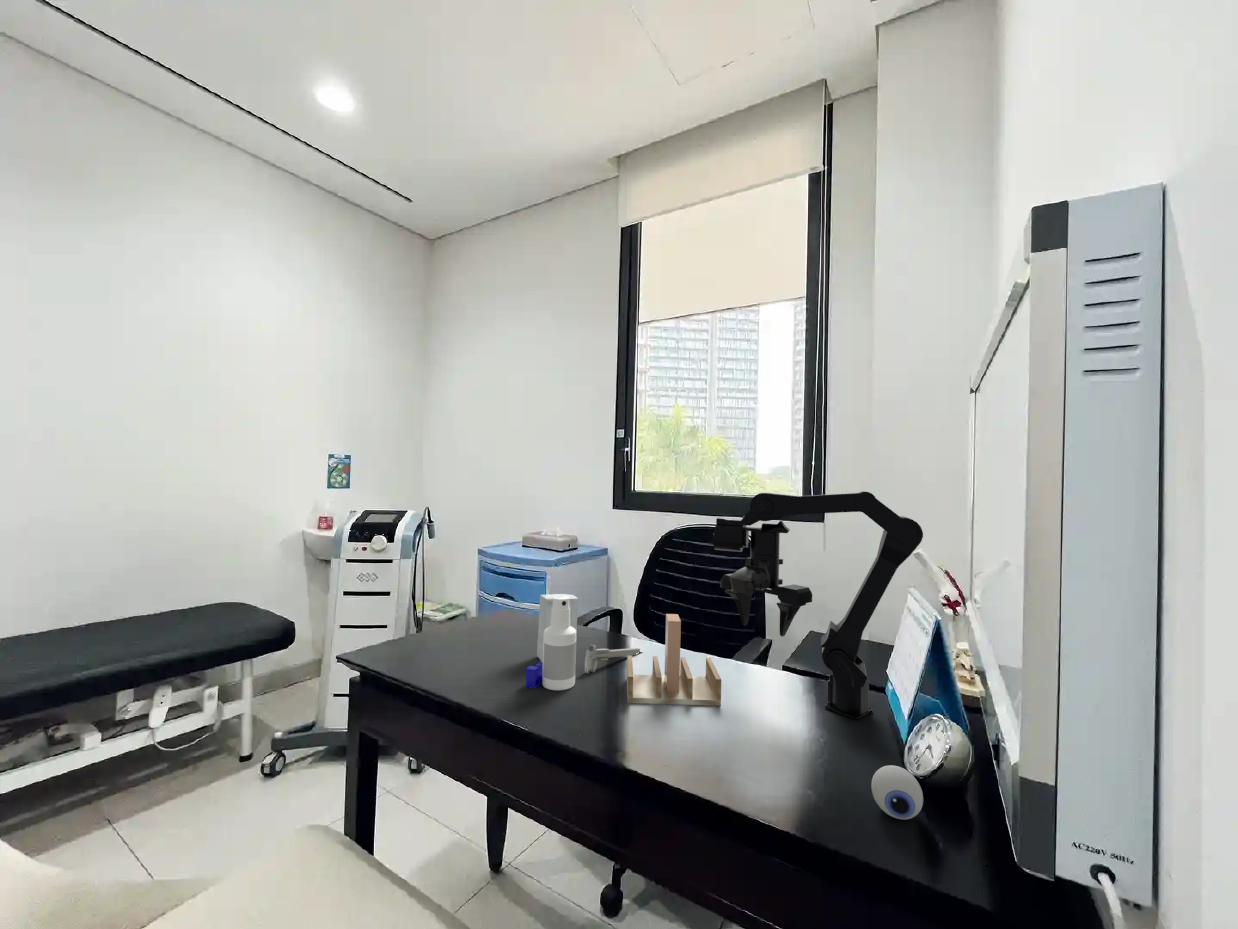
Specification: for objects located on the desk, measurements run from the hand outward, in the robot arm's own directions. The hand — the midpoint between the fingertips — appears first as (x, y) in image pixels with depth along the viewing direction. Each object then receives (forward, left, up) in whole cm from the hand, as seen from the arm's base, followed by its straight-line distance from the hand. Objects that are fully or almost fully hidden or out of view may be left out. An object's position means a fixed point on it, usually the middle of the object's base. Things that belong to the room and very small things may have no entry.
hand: (763, 630), depth 105 cm
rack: (+11, +14, -13) cm, 23 cm away
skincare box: (+41, +24, -13) cm, 49 cm away
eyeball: (-34, +17, -13) cm, 40 cm away
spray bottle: (+27, +32, -13) cm, 44 cm away
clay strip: (+11, +14, -12) cm, 22 cm away
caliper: (+31, +14, -14) cm, 37 cm away
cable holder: (+32, +34, -14) cm, 49 cm away
